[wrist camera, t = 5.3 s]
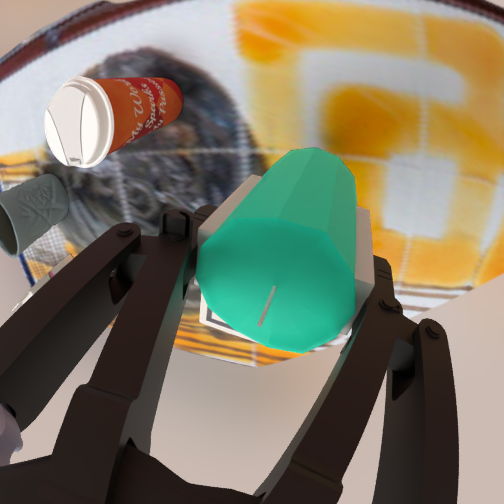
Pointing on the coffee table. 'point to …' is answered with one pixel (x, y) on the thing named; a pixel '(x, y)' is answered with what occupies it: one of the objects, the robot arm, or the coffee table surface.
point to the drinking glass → (30, 212)
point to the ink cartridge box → (45, 279)
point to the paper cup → (107, 115)
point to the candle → (287, 255)
